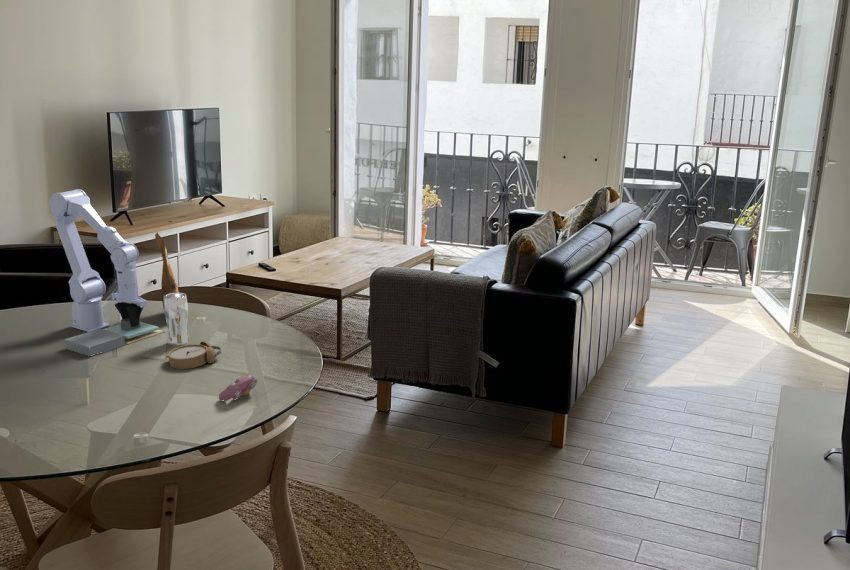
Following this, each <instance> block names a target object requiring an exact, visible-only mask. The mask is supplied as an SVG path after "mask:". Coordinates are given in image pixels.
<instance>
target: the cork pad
mask: <svg viewBox="0 0 850 570" xmlns="http://www.w3.org/2000/svg"><path fill="white" fill-rule="evenodd" d="M165 332H166V331H165V330H161V329H159V330H156V331H152V332H149V333H146V334H143V335H139V336H136V337H133V338H129V339H125V345H130V344H133V343H137V342H140V341H143V340H145V339H148V338H151V337H154V336H155V337H156V336H157V334H158V335H160V334H164V333H165Z"/></svg>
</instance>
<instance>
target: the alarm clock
mask: <svg viewBox="0 0 850 570" xmlns="http://www.w3.org/2000/svg"><path fill="white" fill-rule="evenodd" d="M216 350H218V351H216ZM220 354H222V347H220V346H218V345H212V344H210V342H208V341H200V342H199V343H194V344H193V343H192V344H184V345H179V346H177V347H175V348H172V349H171V350H170V351H169V352H168V353H167V356H166V357H165V358H168V361H169V366H170V367H171V368H174V369H179V370H188V369H195V368H199V367H200V366H203V365H205V364H209V365H210V364H213V363H214V362H215V361H216V359H217V357H218V356H219V355H220Z"/></svg>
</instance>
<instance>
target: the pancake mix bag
mask: <svg viewBox="0 0 850 570" xmlns="http://www.w3.org/2000/svg"><path fill="white" fill-rule="evenodd" d="M154 236H155V237H154V238H155V241H156V242H157V244H158V247H159V249H160V254H161V257H162V270H161V271H162V273H161V285H160V287H161V302H162V308H163V310H164V295H166V294H169V293H180V291H179V287H178V284H177V281H176V278H175V276H174V272H173V269H172V267H171V262H169V255H168V252H167V247H166V243H165V241H164V239H163V237H162V236H161V235H160V234H159V232H158V231H157V232H156V233H155V235H154Z"/></svg>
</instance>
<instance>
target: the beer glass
mask: <svg viewBox="0 0 850 570" xmlns="http://www.w3.org/2000/svg"><path fill="white" fill-rule="evenodd" d="M163 312H164V318H165V322H166V326H167V330H168V341H167V344H168V345H170V346H173V347H174V346H177V347H180V346H184V345H188V343H189V342H190V341H189V336H188V332H187V327H188V326H187V325H188V319H189V318H188V317H189V306H188V298H187V293H185V292H179V293H169V294H166V295H164V309H163Z"/></svg>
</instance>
